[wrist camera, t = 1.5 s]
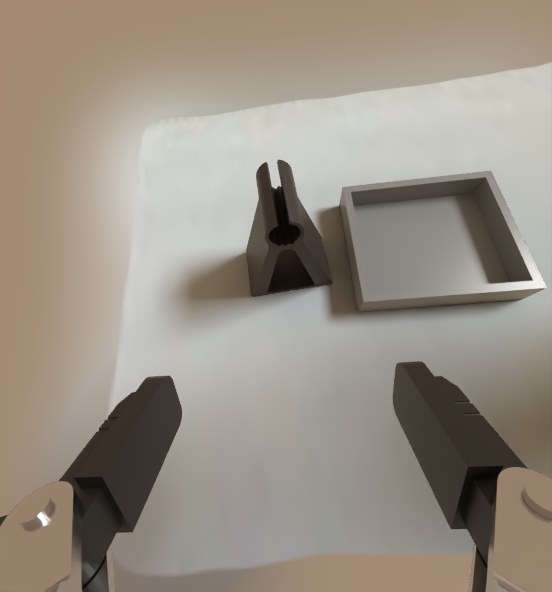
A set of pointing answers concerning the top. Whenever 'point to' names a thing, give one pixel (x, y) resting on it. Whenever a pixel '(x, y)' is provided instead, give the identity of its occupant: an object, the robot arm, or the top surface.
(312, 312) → the top surface
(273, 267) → the phone stand
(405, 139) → the top surface
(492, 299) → the tray
